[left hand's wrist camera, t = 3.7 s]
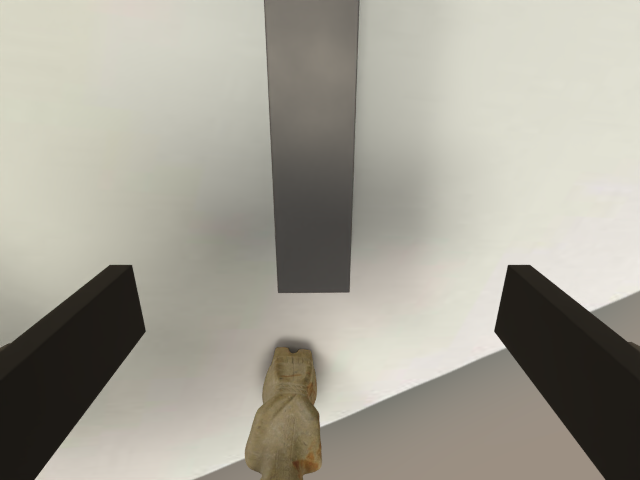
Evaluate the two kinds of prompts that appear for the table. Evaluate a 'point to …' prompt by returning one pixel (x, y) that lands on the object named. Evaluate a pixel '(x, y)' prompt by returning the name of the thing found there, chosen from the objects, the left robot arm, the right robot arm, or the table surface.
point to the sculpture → (286, 420)
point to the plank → (312, 139)
